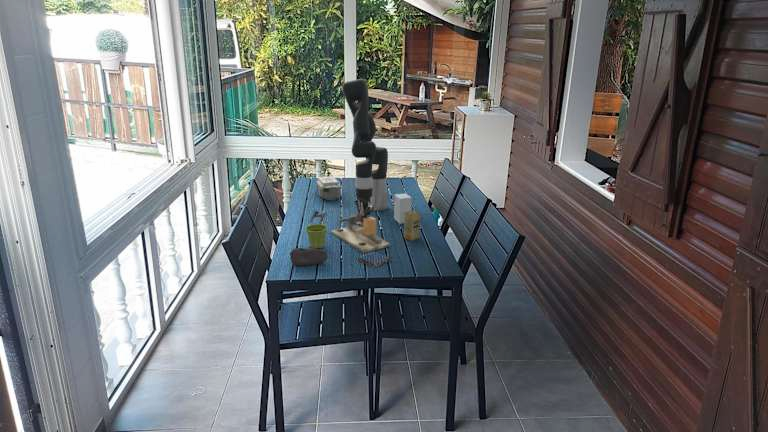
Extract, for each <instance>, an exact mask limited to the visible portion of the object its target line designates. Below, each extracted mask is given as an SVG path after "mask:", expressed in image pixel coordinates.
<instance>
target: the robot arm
mask: <svg viewBox="0 0 768 432" xmlns="http://www.w3.org/2000/svg"><path fill="white" fill-rule="evenodd" d="M342 93H343V96H344V98H345V101H346V103H347V106H348V108H349V110H350V111H351V115H352V118H353V120H352V128H353V141H352V147H351V155H352V156H353V157H354V158H358V159H360V158H363V159H364V158H365V160H364V161H361V162H357V164H355V197H356V198H357V199H355V200H354V204H355V207H356V209H357V212H359V213H360V215H361V223H363V218H367V217H368V216H370V215H371V214H372V212H373V211H374V212H380V211H381V212H382V211H385V210H386V209H388V206H389V202H388V201H389V200H388V199H389V198H388V197H389V196H388V195H389V192H388V190H387V174H388V162H389V154H388V153H389V152H388V149H387V148H386V147H382V146H377V144H376V143H375V142H374V141H372V140H373V139H374V137H375V135H376V132H377V125H376V123H375V119H374V117H373V114H370V112H369V88H368V84H367V81H366V80H365V79H364V78H358V79H355V80H349V81H346V82H343V84H342ZM358 101H360V103H357V102H358ZM373 165H376V166H378V167H377V168H376V169H373Z"/></svg>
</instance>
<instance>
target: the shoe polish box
mask: <svg viewBox="0 0 768 432" xmlns="http://www.w3.org/2000/svg"><path fill="white" fill-rule="evenodd" d="M420 220H421V213H420V212H418V211H414V210H411V211H409V212H406V213H404V223H403V225H404V226H403V227H404V228H403V238H404V239H407V240H409V241H414V240H417V239H419V238H420V226H421V224H420V222H421V221H420Z"/></svg>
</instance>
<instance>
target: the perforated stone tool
mask: <svg viewBox="0 0 768 432" xmlns="http://www.w3.org/2000/svg"><path fill="white" fill-rule="evenodd" d="M289 254H290V255H289V256H290V257H289V259H290V262H291V264H292V265H293V266H300V267H301V266H311V265H317V264H319V265H320V264H322V263H325V262H326V261H327V260H328V259H329V256H328V253H327V252H326V251H324V250H322V249H320V248H316V249H314V248H311V247H309V248H307V247H305V248H304V247H297V248H292V250H291V252H289Z"/></svg>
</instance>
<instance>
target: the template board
mask: <svg viewBox="0 0 768 432" xmlns="http://www.w3.org/2000/svg"><path fill="white" fill-rule="evenodd" d="M356 219H357V215H355V214H352V215H351V214H350V215H347V217H345V218H340V219H339V218H338V228H337V229H332V230H331V234H333V235H334V236H335V237H337V238H339V239H340V240H342V241H343V242H345V243H346V244H348V245H350V246H351V247H352V248H354V249H356V250H358V251H359V252H361V253H362V254H365V253H370V252H374V251H377V250H380V249H384V248H385V249H386V248H389V247H390V246H391V243H390V242H388V241H386V240H384V239H383V238H381V237H379V236H377V234H373V235H369V236H368V235H366V234H364V233H363V231H361V232H358V239H357V238H356V230H357V229H361V228H363V226H358V225H356ZM342 222H347V225H348V226H346V227H342Z"/></svg>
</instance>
